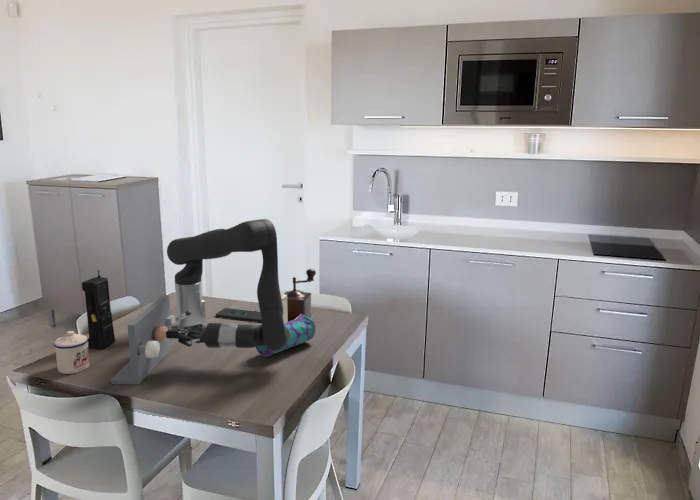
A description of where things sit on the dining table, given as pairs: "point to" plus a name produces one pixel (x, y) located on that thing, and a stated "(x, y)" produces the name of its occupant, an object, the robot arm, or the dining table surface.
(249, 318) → the smart home device
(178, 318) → the toggle lever
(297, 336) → the pencil case
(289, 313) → the manual coffee grinder
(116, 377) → the control panel
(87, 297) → the portable radio
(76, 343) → the teacup with lid
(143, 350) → the cream button
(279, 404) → the dining table surface
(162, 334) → the terracotta button
